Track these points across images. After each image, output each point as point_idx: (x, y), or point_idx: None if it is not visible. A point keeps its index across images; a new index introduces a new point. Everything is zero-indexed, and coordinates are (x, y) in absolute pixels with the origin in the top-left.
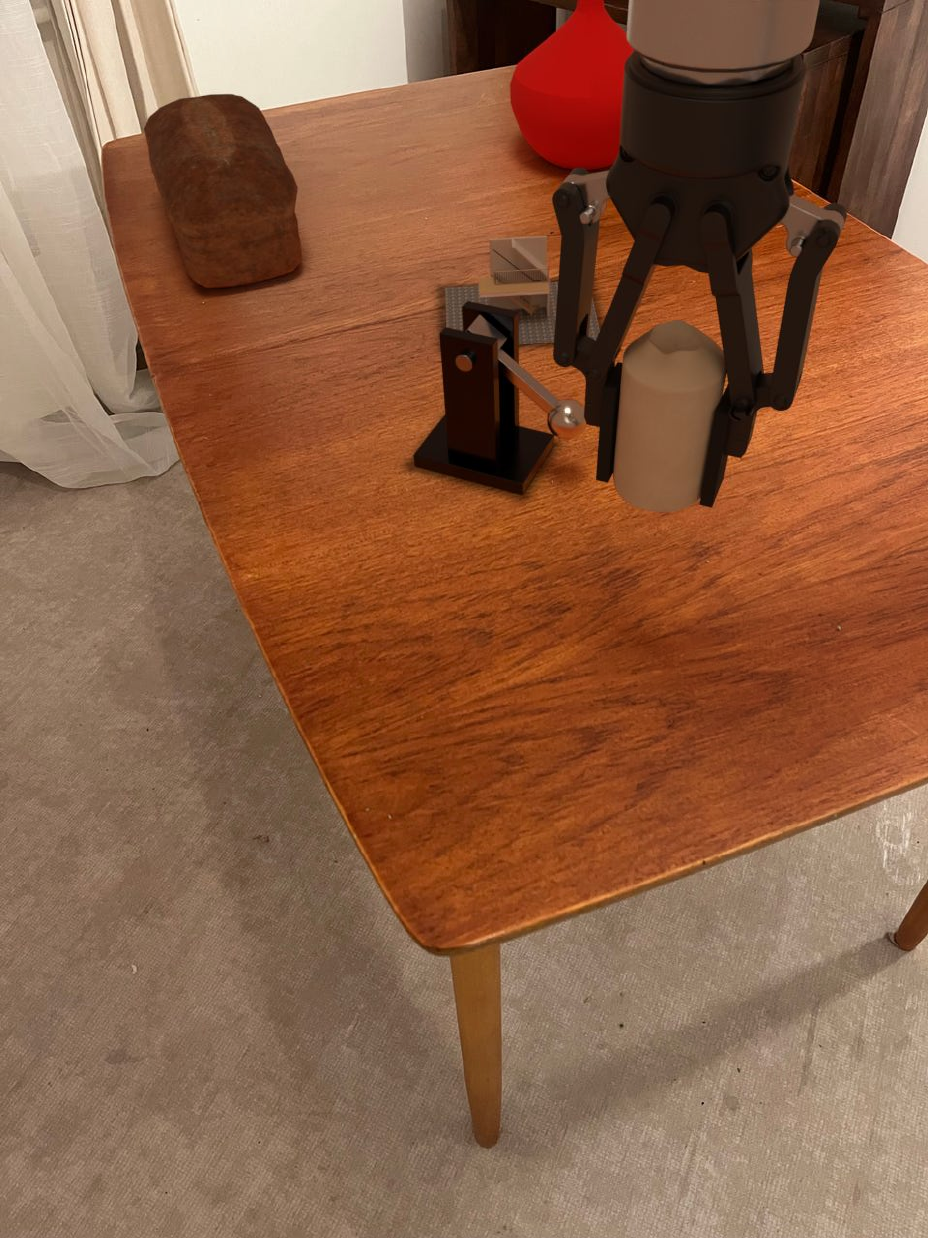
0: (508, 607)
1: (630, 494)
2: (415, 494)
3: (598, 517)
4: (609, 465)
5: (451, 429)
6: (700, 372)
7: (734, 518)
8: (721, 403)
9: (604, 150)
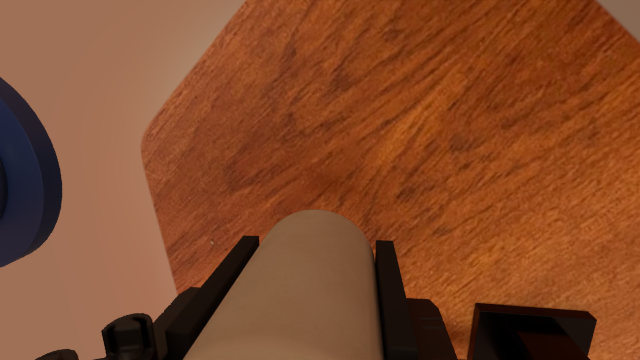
0: (447, 182)
1: (337, 218)
2: (574, 279)
3: None
4: (377, 254)
5: (575, 349)
6: None
7: None
8: None
9: None
